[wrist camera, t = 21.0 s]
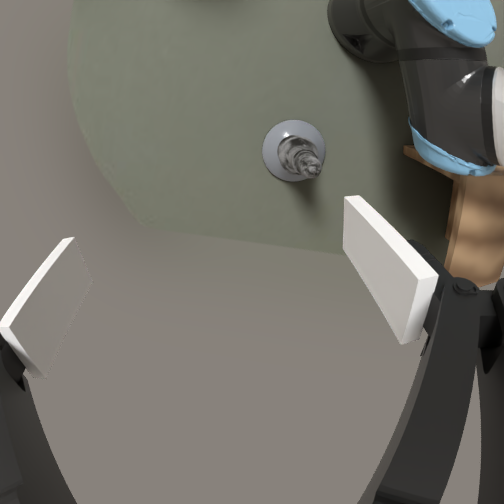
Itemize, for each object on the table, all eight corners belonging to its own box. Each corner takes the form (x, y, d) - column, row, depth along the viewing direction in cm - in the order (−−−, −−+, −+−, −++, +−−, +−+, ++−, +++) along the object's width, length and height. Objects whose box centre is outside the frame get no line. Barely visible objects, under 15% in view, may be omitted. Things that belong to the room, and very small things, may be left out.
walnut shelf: (403, 145, 46) (467, 175, 31) (461, 146, 46) (524, 175, 31) (395, 244, 56) (441, 298, 41) (449, 236, 56) (498, 281, 41)
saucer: (258, 122, 43) (259, 123, 43) (322, 117, 43) (323, 118, 43) (265, 183, 48) (265, 184, 48) (325, 177, 49) (326, 178, 48)
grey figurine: (292, 176, 48) (311, 203, 37) (267, 150, 45) (280, 170, 35) (319, 152, 46) (346, 172, 35) (295, 125, 43) (317, 137, 33)
